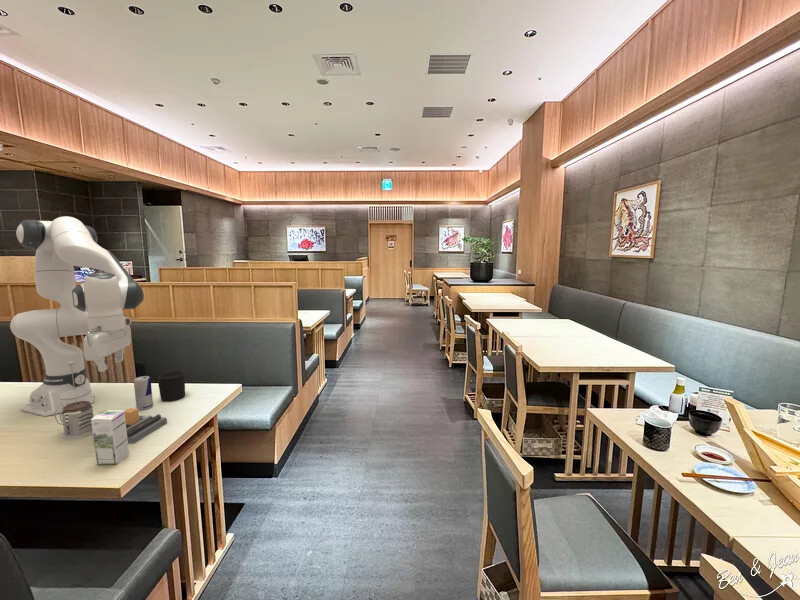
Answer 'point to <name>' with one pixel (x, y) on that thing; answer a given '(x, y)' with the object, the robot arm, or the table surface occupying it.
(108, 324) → the robot arm
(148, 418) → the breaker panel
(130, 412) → the lever
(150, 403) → the energy drink
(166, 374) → the pen holder
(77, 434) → the french press
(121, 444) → the syrup box
